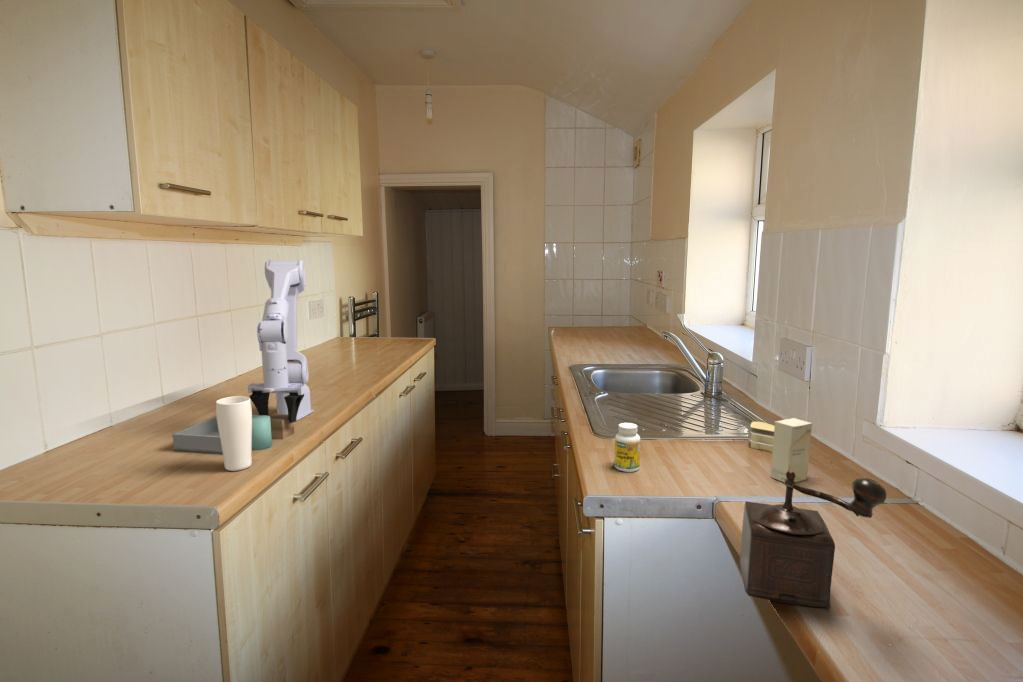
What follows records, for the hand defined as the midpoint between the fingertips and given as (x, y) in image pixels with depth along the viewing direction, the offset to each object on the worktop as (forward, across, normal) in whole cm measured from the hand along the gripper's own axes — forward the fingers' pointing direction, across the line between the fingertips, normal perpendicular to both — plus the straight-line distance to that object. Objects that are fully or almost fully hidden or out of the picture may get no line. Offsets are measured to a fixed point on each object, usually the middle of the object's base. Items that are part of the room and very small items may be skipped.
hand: (278, 420), depth 139 cm
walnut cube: (+4, 0, 0) cm, 4 cm away
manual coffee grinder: (+5, +108, -46) cm, 118 cm away
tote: (+4, -12, -5) cm, 13 cm away
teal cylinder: (+4, 0, -8) cm, 9 cm away
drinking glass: (+4, +3, -20) cm, 21 cm away
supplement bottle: (+4, +86, -6) cm, 86 cm away
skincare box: (+4, +119, -6) cm, 119 cm away
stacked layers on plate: (+5, +119, +12) cm, 120 cm away
